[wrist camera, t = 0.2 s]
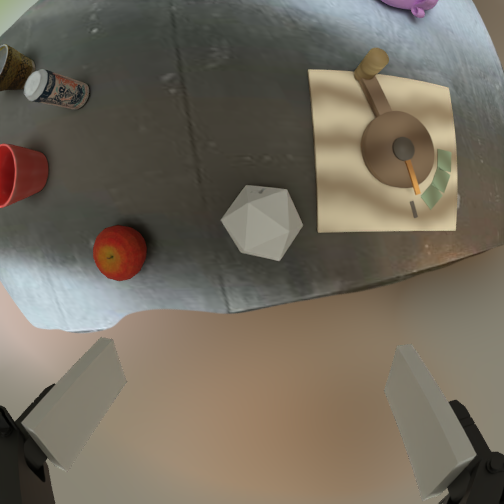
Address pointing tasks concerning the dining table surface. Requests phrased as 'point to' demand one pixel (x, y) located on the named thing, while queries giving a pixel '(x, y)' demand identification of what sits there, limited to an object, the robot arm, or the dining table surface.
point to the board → (354, 169)
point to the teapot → (413, 5)
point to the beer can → (56, 89)
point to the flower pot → (20, 173)
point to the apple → (119, 252)
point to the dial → (392, 133)
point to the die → (262, 221)
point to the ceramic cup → (14, 68)
